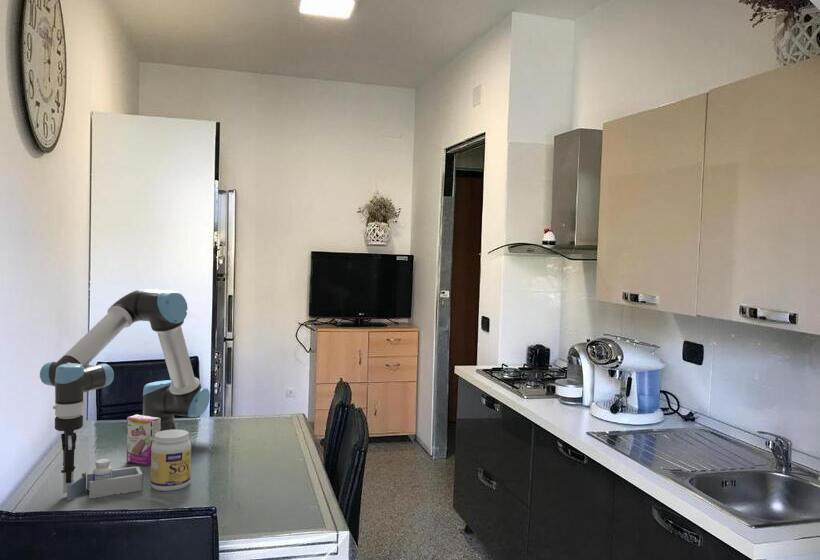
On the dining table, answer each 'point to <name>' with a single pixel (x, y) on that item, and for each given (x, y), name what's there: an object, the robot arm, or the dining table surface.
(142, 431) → the candy bar box
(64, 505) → the dining table surface
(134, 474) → the open rectangular tray
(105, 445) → the dining table surface
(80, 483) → the cover flap
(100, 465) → the pill bottle
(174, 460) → the supplement tub
